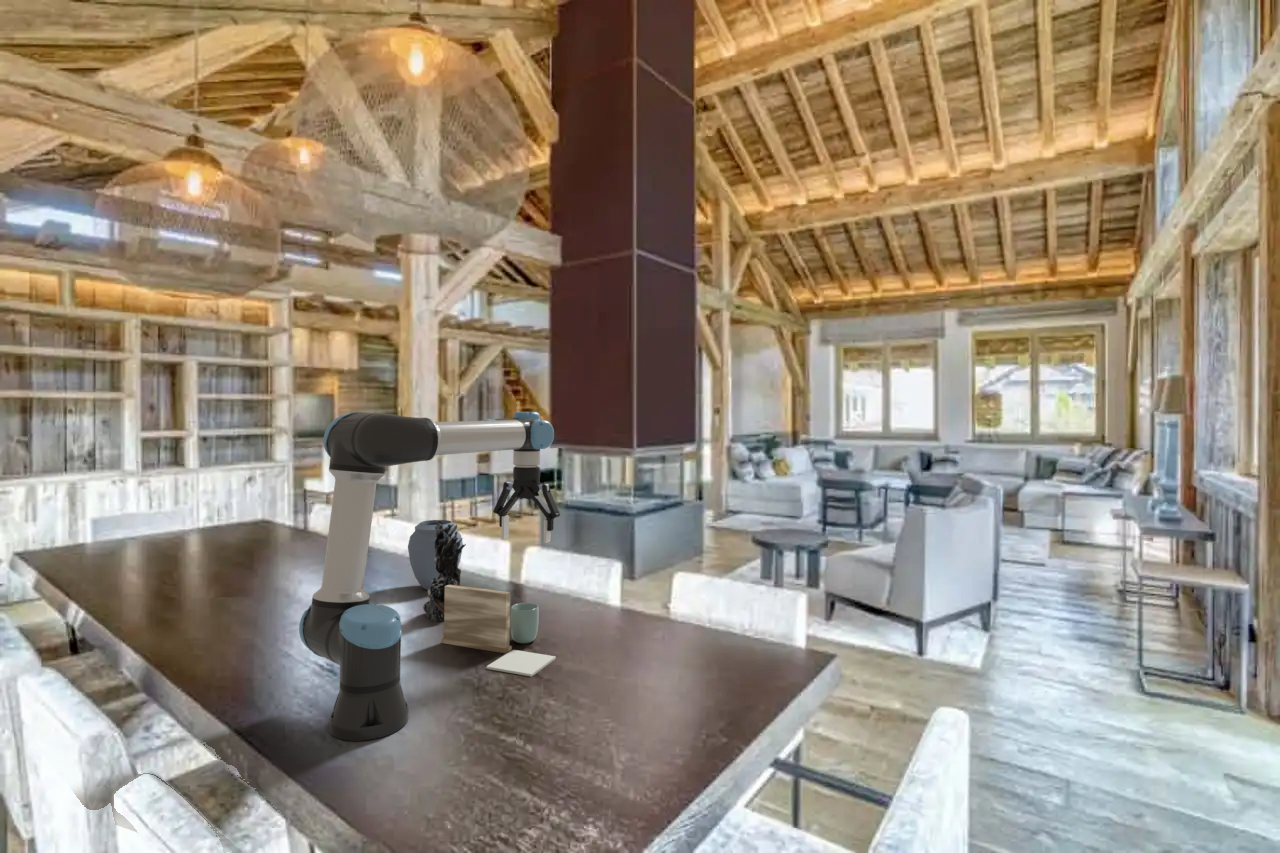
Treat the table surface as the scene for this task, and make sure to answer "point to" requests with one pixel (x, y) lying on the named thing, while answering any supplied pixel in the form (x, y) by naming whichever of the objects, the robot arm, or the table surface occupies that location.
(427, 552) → the vase
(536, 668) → the pad
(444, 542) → the sculpture
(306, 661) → the table surface
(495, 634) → the wooden board
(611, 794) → the table surface
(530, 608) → the cup
